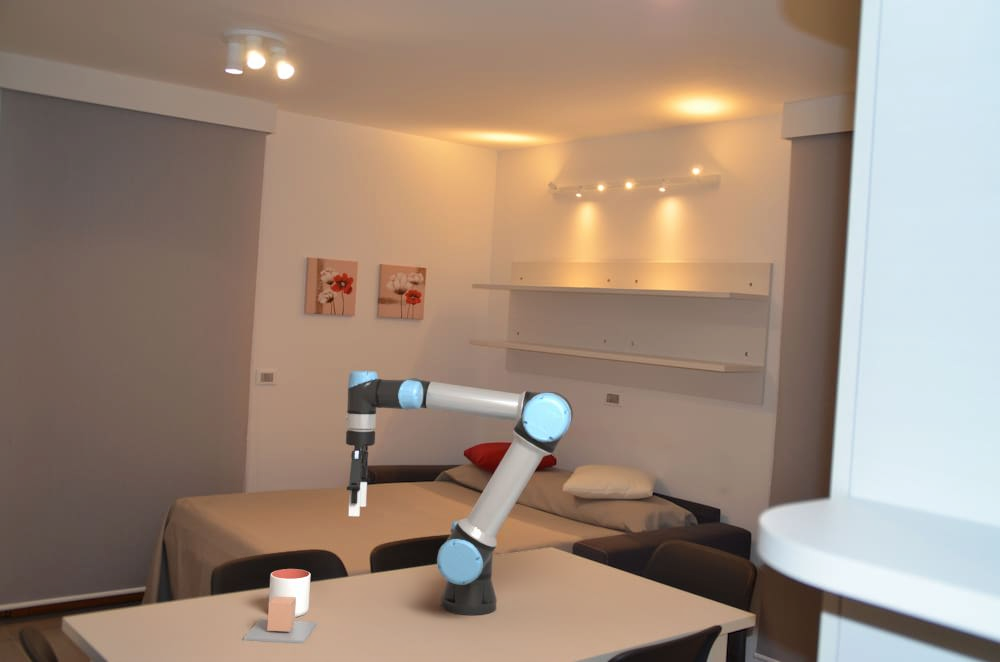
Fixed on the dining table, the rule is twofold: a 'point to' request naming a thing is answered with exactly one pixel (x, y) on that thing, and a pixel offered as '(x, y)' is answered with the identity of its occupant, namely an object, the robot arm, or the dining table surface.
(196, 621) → the dining table surface
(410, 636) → the dining table surface
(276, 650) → the dining table surface
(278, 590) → the cup
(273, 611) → the peach toy cube
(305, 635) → the grey square plate
